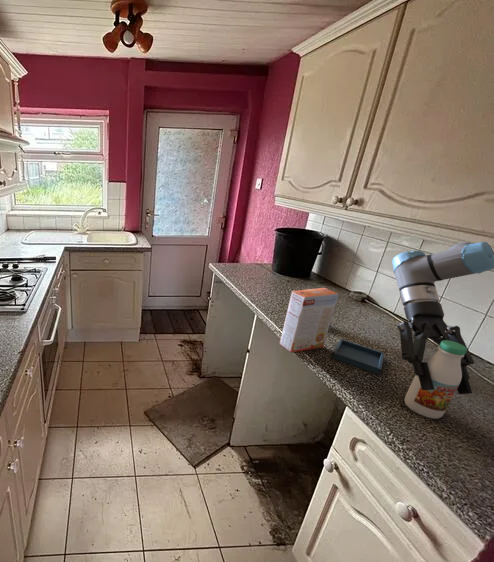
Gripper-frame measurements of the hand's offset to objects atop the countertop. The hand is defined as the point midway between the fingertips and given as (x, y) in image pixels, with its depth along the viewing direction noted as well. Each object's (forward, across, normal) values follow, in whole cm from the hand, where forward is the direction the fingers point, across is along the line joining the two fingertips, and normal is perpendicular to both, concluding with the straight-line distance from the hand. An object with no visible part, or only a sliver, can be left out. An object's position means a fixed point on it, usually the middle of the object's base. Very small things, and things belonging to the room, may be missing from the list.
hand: (446, 391), depth 77 cm
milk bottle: (+4, 0, +9) cm, 9 cm away
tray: (-12, -4, +24) cm, 27 cm away
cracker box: (-15, -20, +27) cm, 37 cm away
